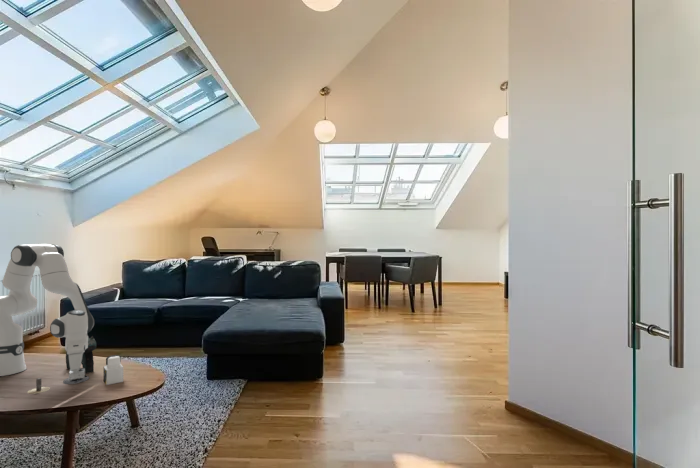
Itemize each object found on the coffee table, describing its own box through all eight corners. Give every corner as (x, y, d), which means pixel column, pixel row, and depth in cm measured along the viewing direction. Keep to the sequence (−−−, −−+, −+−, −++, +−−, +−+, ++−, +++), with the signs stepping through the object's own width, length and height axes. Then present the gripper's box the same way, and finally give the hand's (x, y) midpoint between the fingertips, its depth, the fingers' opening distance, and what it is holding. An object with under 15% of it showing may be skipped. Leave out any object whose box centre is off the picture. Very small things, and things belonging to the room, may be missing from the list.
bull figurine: (97, 371, 204) (97, 332, 204) (84, 375, 198) (84, 334, 198) (74, 366, 212) (74, 328, 213) (61, 369, 207) (61, 330, 207)
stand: (22, 395, 172) (22, 381, 172) (38, 388, 180) (38, 375, 180) (39, 396, 172) (39, 382, 172) (54, 389, 180) (54, 375, 180)
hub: (57, 385, 184) (57, 377, 184) (74, 378, 194) (74, 369, 194) (78, 386, 183) (78, 377, 183) (93, 378, 193) (93, 370, 193)
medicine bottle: (103, 381, 190) (103, 355, 190) (120, 377, 194) (120, 353, 194) (106, 385, 184) (106, 359, 184) (123, 381, 189) (123, 356, 189)
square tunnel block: (68, 379, 185) (68, 373, 185) (69, 375, 190) (70, 369, 190) (84, 377, 188) (84, 371, 188) (85, 374, 193) (85, 367, 193)
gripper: (70, 341, 196) (70, 369, 196) (66, 351, 179) (66, 382, 178) (85, 339, 199) (85, 367, 199) (83, 349, 182) (83, 379, 182)
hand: (76, 374), depth 189 cm, fingers closed on square tunnel block, 6 cm apart
